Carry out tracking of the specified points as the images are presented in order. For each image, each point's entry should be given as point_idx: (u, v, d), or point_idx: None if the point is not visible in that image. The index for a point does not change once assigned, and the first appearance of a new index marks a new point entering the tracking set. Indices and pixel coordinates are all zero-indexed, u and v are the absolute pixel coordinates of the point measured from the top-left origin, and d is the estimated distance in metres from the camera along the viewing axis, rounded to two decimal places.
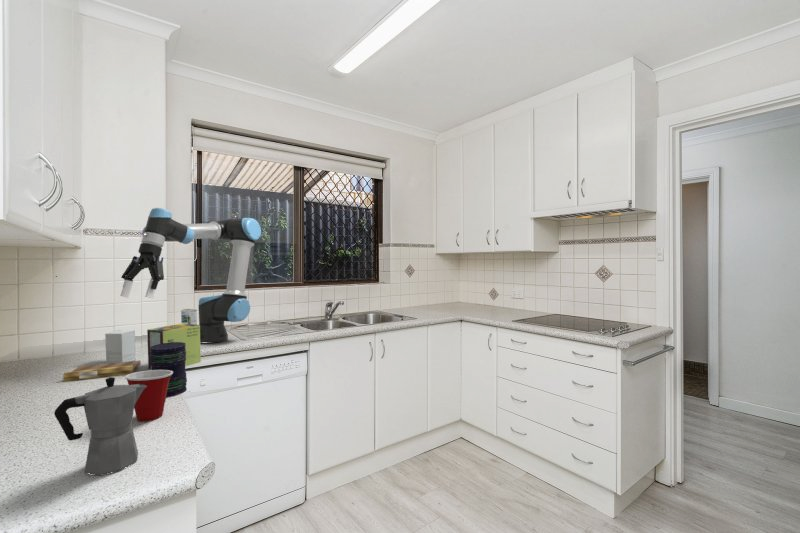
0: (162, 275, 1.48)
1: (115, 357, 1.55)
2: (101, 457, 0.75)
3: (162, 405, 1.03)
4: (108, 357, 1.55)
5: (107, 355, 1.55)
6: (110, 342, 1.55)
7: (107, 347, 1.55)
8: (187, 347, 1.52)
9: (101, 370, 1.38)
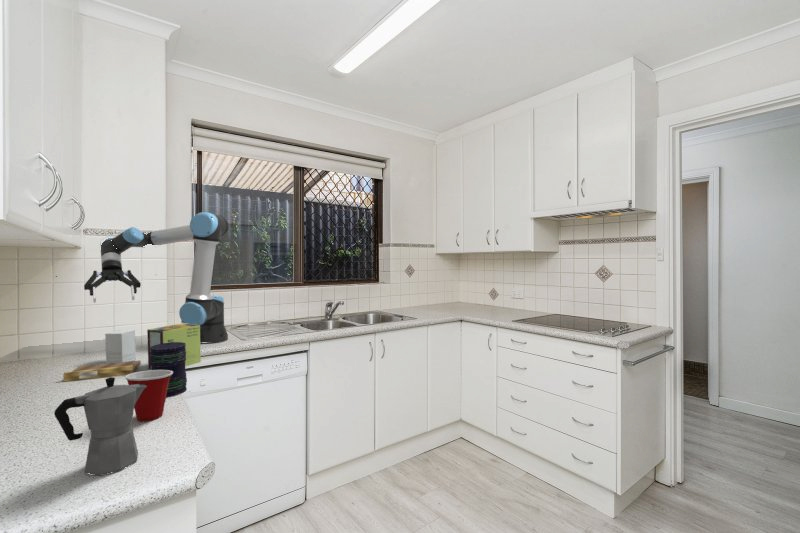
0: None
1: (115, 357, 1.55)
2: (101, 457, 0.75)
3: (162, 405, 1.03)
4: (108, 357, 1.55)
5: (107, 355, 1.55)
6: (111, 342, 1.55)
7: (107, 347, 1.55)
8: (187, 347, 1.52)
9: (101, 370, 1.38)
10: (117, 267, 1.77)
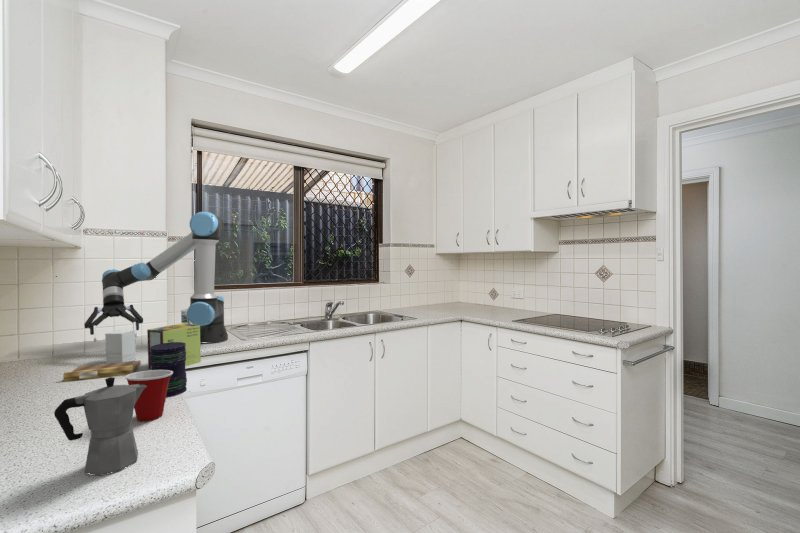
0: None
1: (115, 357, 1.55)
2: (101, 457, 0.75)
3: (162, 405, 1.03)
4: (108, 357, 1.55)
5: (107, 355, 1.55)
6: (111, 342, 1.55)
7: (107, 347, 1.55)
8: (187, 347, 1.52)
9: (101, 370, 1.38)
10: (119, 302, 1.70)
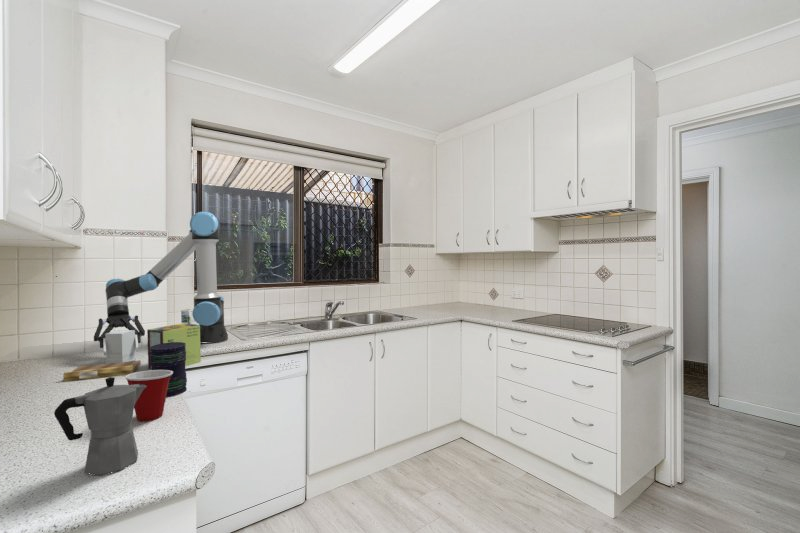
0: (94, 335, 1.55)
1: (115, 357, 1.55)
2: (101, 457, 0.75)
3: (162, 405, 1.03)
4: (108, 357, 1.55)
5: (107, 355, 1.55)
6: (111, 342, 1.55)
7: (107, 347, 1.55)
8: (187, 347, 1.52)
9: (101, 370, 1.38)
10: (124, 312, 1.66)
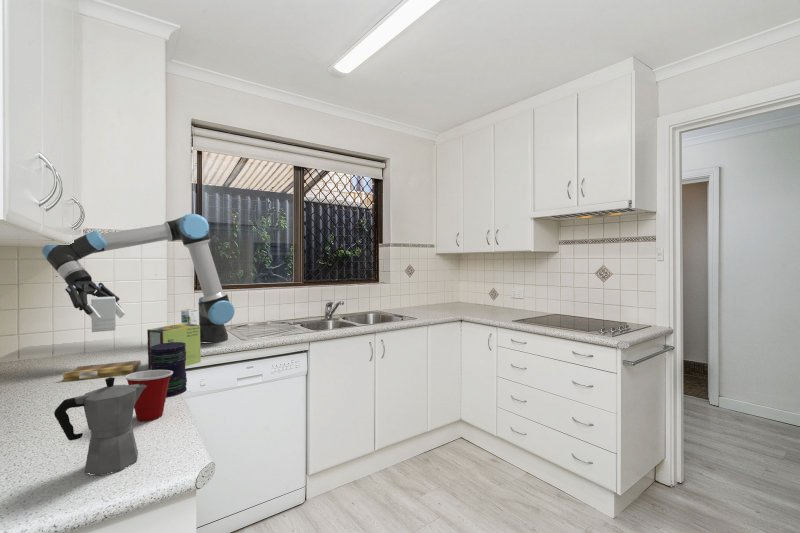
0: (76, 301, 1.40)
1: (105, 324, 1.46)
2: (101, 457, 0.75)
3: (162, 405, 1.03)
4: (95, 324, 1.44)
5: (94, 322, 1.44)
6: (100, 308, 1.45)
7: None
8: (187, 347, 1.52)
9: (101, 370, 1.38)
10: (89, 278, 1.51)
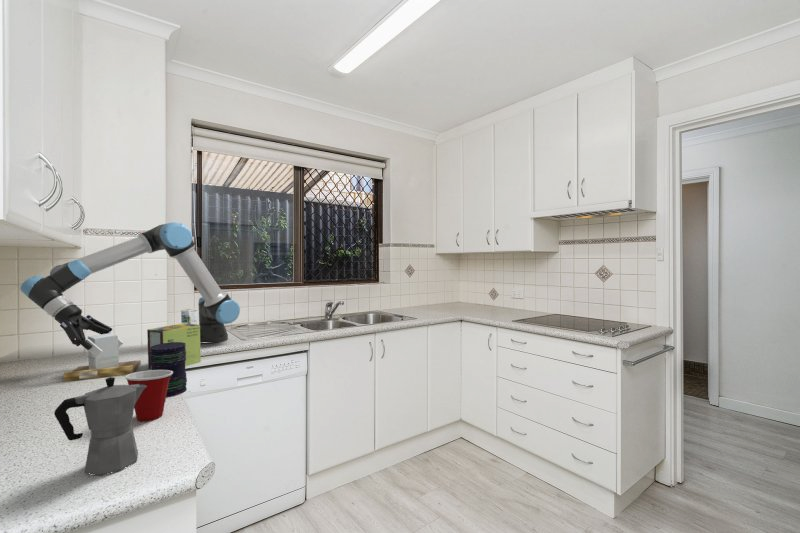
0: (75, 337, 1.33)
1: (109, 363, 1.42)
2: (101, 457, 0.75)
3: (162, 405, 1.03)
4: (99, 364, 1.39)
5: (98, 362, 1.39)
6: (103, 347, 1.40)
7: None
8: (187, 347, 1.52)
9: (101, 370, 1.38)
10: (80, 313, 1.43)
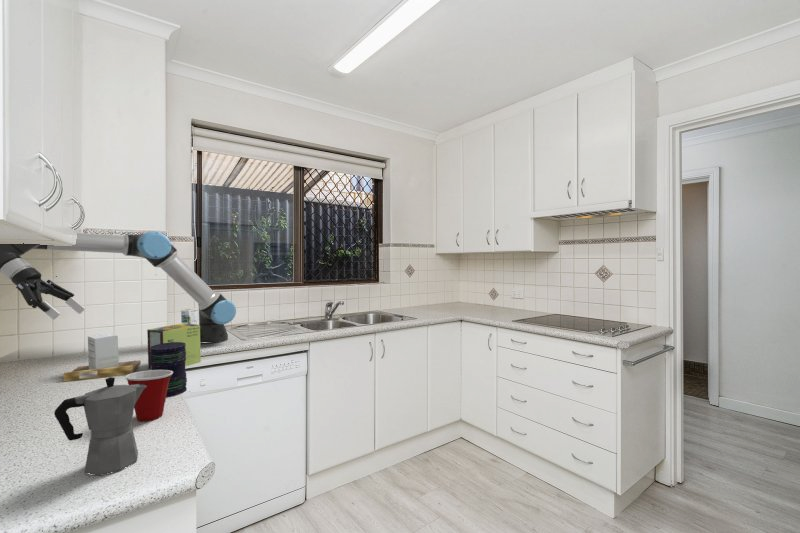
0: (31, 298, 1.31)
1: (109, 363, 1.42)
2: (101, 457, 0.75)
3: (162, 405, 1.03)
4: (99, 364, 1.39)
5: (98, 362, 1.39)
6: (103, 347, 1.40)
7: (98, 353, 1.39)
8: (187, 347, 1.52)
9: (101, 370, 1.38)
10: (39, 276, 1.41)
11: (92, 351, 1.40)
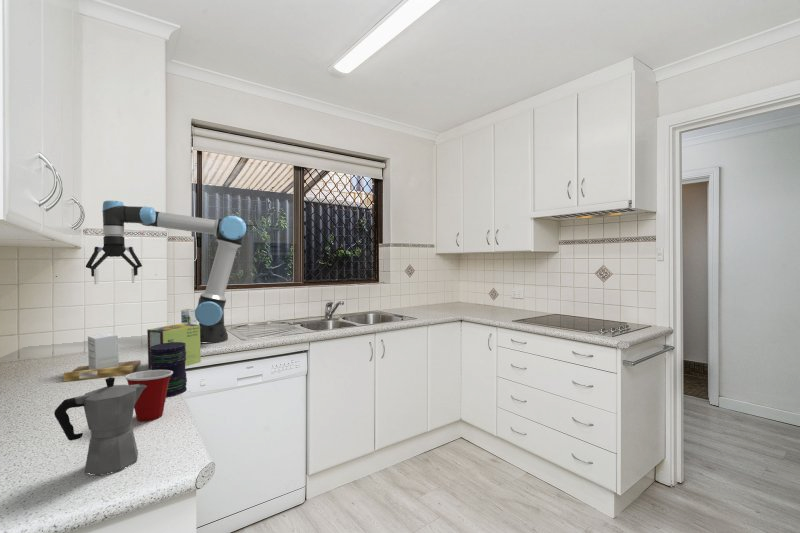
0: None
1: (109, 363, 1.42)
2: (101, 457, 0.75)
3: (162, 405, 1.03)
4: (99, 364, 1.39)
5: (98, 362, 1.39)
6: (103, 347, 1.40)
7: (98, 353, 1.39)
8: (187, 347, 1.52)
9: (101, 370, 1.38)
10: (118, 244, 1.70)
11: (92, 351, 1.40)
